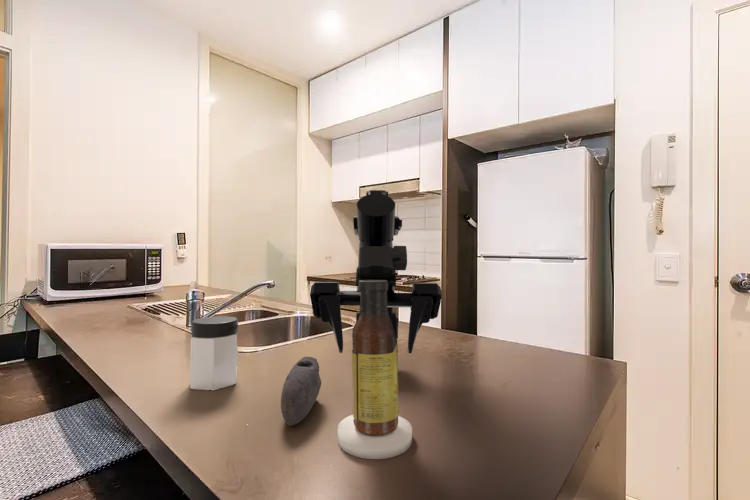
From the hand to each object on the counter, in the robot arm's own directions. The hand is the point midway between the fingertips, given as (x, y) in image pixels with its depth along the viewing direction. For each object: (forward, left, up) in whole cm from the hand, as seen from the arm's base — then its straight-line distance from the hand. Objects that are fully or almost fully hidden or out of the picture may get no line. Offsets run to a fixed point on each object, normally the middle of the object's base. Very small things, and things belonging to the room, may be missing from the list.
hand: (375, 351), depth 49 cm
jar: (-36, +8, -12) cm, 39 cm away
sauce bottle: (-1, +1, -11) cm, 11 cm away
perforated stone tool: (-14, +4, -12) cm, 19 cm away
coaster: (0, +1, -12) cm, 12 cm away
